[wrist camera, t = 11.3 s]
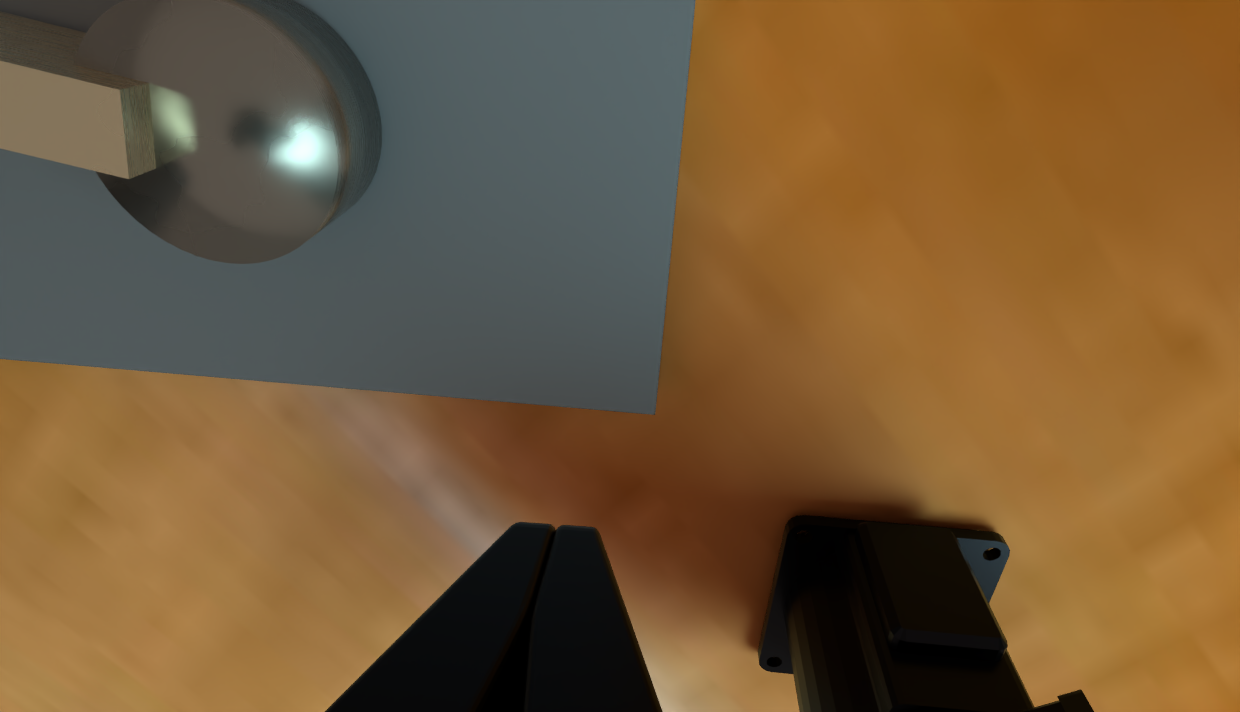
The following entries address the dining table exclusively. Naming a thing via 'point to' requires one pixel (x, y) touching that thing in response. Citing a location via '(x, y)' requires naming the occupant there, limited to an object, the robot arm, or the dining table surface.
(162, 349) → the board
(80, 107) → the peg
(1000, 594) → the dining table surface
